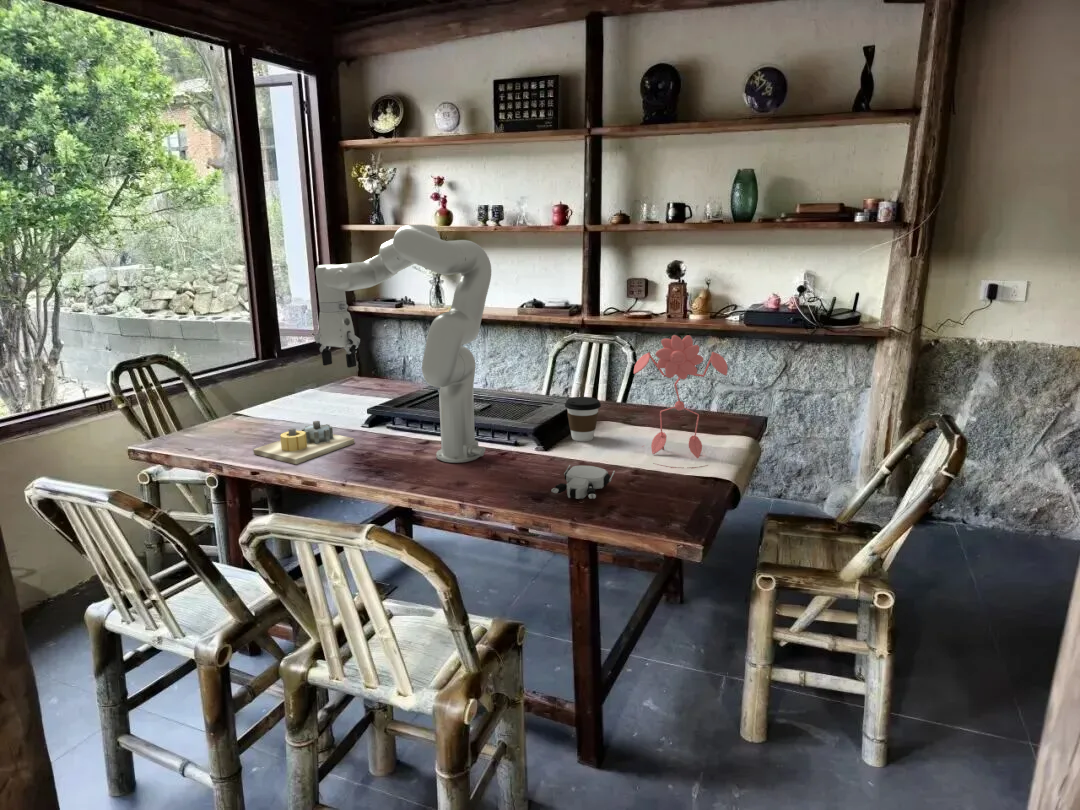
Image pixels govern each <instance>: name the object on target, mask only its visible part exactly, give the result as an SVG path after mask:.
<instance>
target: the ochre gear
mask: <svg viewBox="0 0 1080 810" xmlns="http://www.w3.org/2000/svg"><path fill="white" fill-rule="evenodd" d="M279 438H280V440H281V448H282V450H285V451H297V450H301V449H304V448H305V447H307V441H306V432H304V431H302V430H296V436H289V431H285V432H282V433H281V434H280V437H279Z"/></svg>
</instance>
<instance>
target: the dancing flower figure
mask: <svg viewBox="0 0 1080 810" xmlns="http://www.w3.org/2000/svg"><path fill="white" fill-rule="evenodd" d="M660 342H661V343H660V344H661V345H662V347H663V348H659V349H657V350H656V352H655V357H656V358H658V360H657V362H656V361H655V359H654V358H653V357H652V356H653V355H651V352H650V351H649V352H647V353H644V354H643V355H642V356H640V357H639V358H638V360H637V361H636V362H635V364H634V366H633V367H634V368H633V374H634V375H637V374H638V373H639V372H640V371H642V370H643V369H644V368H645V367H646V366H648V363H649V362H650V360H651V361H652V362H653V364H654V366H656V367H655V368H657V370H658V371H659V373H661V375H662V376H663V378H664V377H667V379H672V378H674V376H675V375H676V376H677V377H678V378H677V379H676V380H675V382H674V385H673V386H674V388H675V389H674V390H675V393H676V397H677V401H675V403H674V406H672V407H669V408H666V409H662V410H660V411H659V420H660V422H659V423H660V432H658V433H657V434H656V435H655V436H654V437H653V439H652V442H651V445H650V447H651V454H652V455H655V454H657V453H659V452H661V450H662V451H664V450H665V445H666V442H667V434H666V433H665V432H664V431H663V423H662V422H663V420H662V413H663V412H666V411H668V410H672V409H675V410H677V411H683V410H686V411H687V412H690V413H693V414H695V415H697V419H696V423H695V424H696V425H695V429H694V434H693V435H691V436H689V439H688V448H689V451H690V453H692V455H693V456H694V457H695V458H696V459H700V456H701V454H702V451H703V444H702V441H701V439H700V438H699V437H698V436H697V432H698V424H699V419H700V414H699V413H697V412H695V411H692V410H691V409H689V408H687V407H685V403H684V401H682V400H680V395H679V390H678V386H677V385H678V383H679V381H680V380H687V377H688V375H690V376H697V377H701V378H704V377H705V375H706V374H707V372H708V369H709V366H710V364H711V365H712V367H713V368H714V369H715V370H716V371H717V372H718V373H720V374H722V375H723V376H727V374H728V364H727V361H726V359H725V358H724V357H723V356H722V355H720V354H719V353H717V352H715V351H712V352H711V355H710V357H709V360H708V362H707V365H706V367H705V370H704V371H703V374H700V373H698V368H697V367H696V366H698V365H700V364H701V363H703V361H704V357H703V355H702V356H701V355H700V354H699V351H700V346H699V345H698V344H693V343H694V340H693V338H692V336H691V335H690V334H689V335H687V334H686V335H685V336H684V337H683V339H682V338H681V337H680V336H678V335H677V334H676V335H675V334H673V335H672V336H671V339H670V338H666V337H665V338H662V339H661V341H660ZM662 369H664V371H665V372H663V371H662ZM643 447H644V445H642V446H641V448H643ZM652 464H654V465H657V466H663V467H664V465H662V464H658V463H654V462H653V463H652ZM708 466H709V464H706V465H705V467H708ZM665 467H666V468H670V469H680V468H681V469H683V467H681V466H680V467H679V466H678V467H676V466H667V465H665ZM703 467H704V465H701V466H699V468H703ZM697 468H698V466H692V467H688V469H697Z"/></svg>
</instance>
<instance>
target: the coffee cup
mask: <svg viewBox="0 0 1080 810" xmlns="http://www.w3.org/2000/svg"><path fill="white" fill-rule="evenodd" d="M601 405H602V404H601V402H600V399H598V398H595V397H591V396H574V397H570V398H568V399H566V401H565V402H564V407H565V408H566V410H567V412H566V413H567V418H568V425H569V430H570V434H571V438H572V440H574V441H576V442H590V441H592V440H593V439H594V436H595V431H596V429H597V427H596V426H597V422H598V417H599V409H600V408H601Z"/></svg>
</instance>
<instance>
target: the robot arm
mask: <svg viewBox="0 0 1080 810" xmlns="http://www.w3.org/2000/svg"><path fill="white" fill-rule="evenodd" d="M413 265H417V266H420V267H422V268H425V269H426V270H429V271H431V272H434V273H435V274H439V275H443V276H452V275H458V274H459V275H460V278H459V281H458V283H457V285H456V288H455V290H454V293H453V297H452V302H451V307H450V309H449V310H448V311H445V312H443V313H441V314H439V315H437V316H436V317H435V318H434V319H433V320H432V322H431V325H430V326H429V330H428V333H427V337H426V344H425V348H424V352H423V358H422V364H421V371H422V377H423V379H424V380H425V382H426V383H427V384H428V385H429V386H431V387H433V388H439V393H438V395H439V397H438V398H439V402H438V403H439V420H440V421H439V423H440V424H439V425H440V443H441V444H440V445H441V448H440V449H438V450H437V451H436V454H435V455H436V458H437V460H439V461H440V462H441V461H442V462H444V463H454V464H456V463H457V464H459V463H461V464H462V463H467V462H472V461H475V460H477V459H479V458H480V457H483V456H484V455H485V452H486V447H484V446H479V440H476V438H475V437H476V436H475V435H476V433H475V430H476V429H475V408H474V407H475V406H474V385H475V376H476V375H475V373H476V359H475V355H473V352H472V351H471V350H470V349H468V348H467V347H466V346H465V345H467V344H470V343H472V342H473V341H475V339H477V337H478V335H479V332H480V327H481V323H482V318H483V314H484V310H485V306H486V305H485V304H486V299H487V295H488V292H489V288H490V284H491V280H492V279H491V278H492V264H491V260H490V258H489V256H488V254H487V252H486V251H485V249H483V248H482V246H480V245H479V244H478V243H476V242H474V241H471V240H468V239H457V240H444V239H441V236H440V234H439V232H438V231H437V230H436V229H435V228H434V227H432V226H431V225H428V224H407V225H403V226H401V227H399V228H398V229H396V232H394V236H393V238H391V239H389V240H387V241H385V242H383V243H382V244H381V245H380V247H379V252H378V254H377V255H375V256H373V257H372V258H371V257H370V258H369V259H366V260H365V261H361V262H359V261H357V262H351V263H350V262H349V263H342V264H336V263H332V264H331V263H330V264H319V265H317V266H316V268H315V276H316V278H315V279H316V284H317V285H316V286H317V293H318V305H319V315H318V320H319V321H318V329H319V330H318V331H319V333H318V334H316V335H314V338H313V339H314V341H315V343H316V347H317V348H318V349H319V352H320V353H321V358H322V359H321V361H322V365H323V366H325V367H326V366H330V365H332V364H333V356H332V350H331V348H343V349H344V350H345V353H346V354H345V359H346V367H347V368H353V367H357V359H356V357H357V355H356V353H357V352H358V349H359V348H360V344H361V338H359V337H358V336H357V335H355V328H354V325H353V324H354V323H353V321H352V316H351V314H350V312H349V311H348V308H349V305H348V304H347V298H346V296H347V295H346V292H350V291H356V290H362V289H369V288H372V287H375V286H376V285H379V284H381V283H384V282H385V281H387V280H389V279H391V278H392V277H394V276H395V275H396V274H398V273H399V272H400V271H401V272H402V270H405V269H407V268H409V267H411V266H413Z"/></svg>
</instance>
